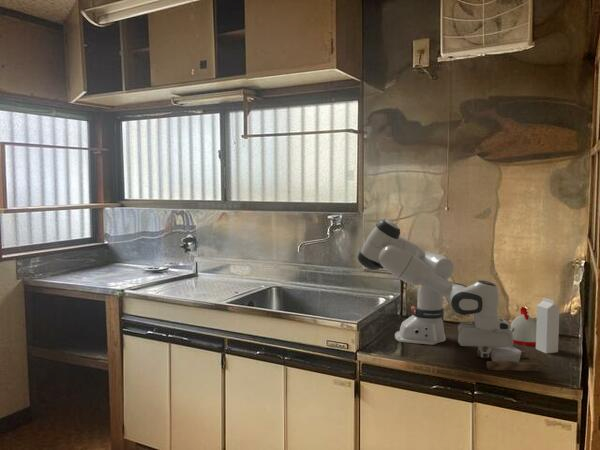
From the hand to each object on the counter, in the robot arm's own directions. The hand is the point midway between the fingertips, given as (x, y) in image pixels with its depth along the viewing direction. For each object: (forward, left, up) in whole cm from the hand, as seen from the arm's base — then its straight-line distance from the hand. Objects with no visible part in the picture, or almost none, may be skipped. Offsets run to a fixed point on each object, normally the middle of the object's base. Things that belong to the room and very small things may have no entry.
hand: (484, 357), depth 194 cm
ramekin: (+8, 0, -2) cm, 8 cm away
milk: (+29, +16, -2) cm, 34 cm away
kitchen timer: (+24, +29, -2) cm, 38 cm away
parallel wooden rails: (+8, 0, -2) cm, 8 cm away
